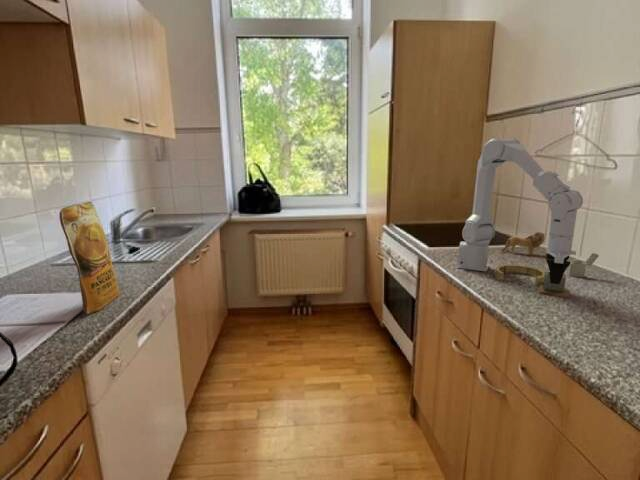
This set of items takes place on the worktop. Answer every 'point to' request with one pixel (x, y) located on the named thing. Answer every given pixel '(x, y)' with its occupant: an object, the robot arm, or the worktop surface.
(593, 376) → the worktop surface
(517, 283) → the worktop surface
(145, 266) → the worktop surface
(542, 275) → the c ring
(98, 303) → the pancake mix bag
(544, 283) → the c link
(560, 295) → the coaster
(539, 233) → the lion figurine
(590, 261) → the lighter
